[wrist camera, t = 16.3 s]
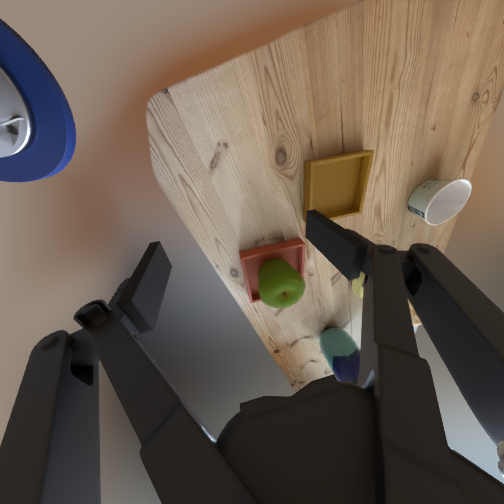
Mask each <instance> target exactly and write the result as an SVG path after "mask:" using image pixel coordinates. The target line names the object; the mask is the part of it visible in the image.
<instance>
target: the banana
mask: <svg viewBox="0 0 504 504" xmlns="http://www.w3.org/2000/svg"><path fill="white" fill-rule="evenodd" d="M364 277H365V274H364V273H363V272H362V271H361V273H360V277H359V278H357V279H353V281H352V290H353V292H354V294H356V295H357V296H359V297H360V298H362V299H363V289H364V287H362V284H363V280H364Z"/></svg>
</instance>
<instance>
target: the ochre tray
mask: <svg viewBox="0 0 504 504" xmlns="http://www.w3.org/2000/svg"><path fill="white" fill-rule="evenodd" d="M373 153H374V150H360V151H355V152H350V153H345V154H339V155H334V156H329V157H323V158H318V159H313V160H308V161H304V221H305V222H306V213H307V211H308V210H312V209H315V210H317V211H318V212H320V213H321V214H323V215H324V216H326V217H327V218H329V219H330V220H334V219H339V218H343V217H348V216H352V215H357V214H361V213H362V208H363V203H364V198H365V193H366V188H367V183H368V178H369V173H370V168H371V163H372V158H373Z"/></svg>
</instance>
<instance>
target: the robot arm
mask: <svg viewBox="0 0 504 504" xmlns="http://www.w3.org/2000/svg"><path fill="white" fill-rule="evenodd" d="M35 133H36V123H35V117H34V113H33V110H32V107H31V105H30V103H29V101H28V99H27V97H26V95H25V93H24V91H23V90H22V88H21V87H20V85H19V84H18V82H17V81H16V79H15V78H14V77H13V76H12V74H11V73H10V72H9V71H8V70H7V68H6V67H5V66H4V65H3V64H2V63H1V62H0V158H2V157H12V156H16V155H19V154H21V153H23V152H25V151H26V150H27V149H28V148H29V147H30V146H31V144H32V143H33V141H34V138H35ZM305 237H306V238H307V239H308V240H309V241H310V242H311V243H312V244H313V245H314V246H315V247H316V248H317V249H318V250H319V251H320V252H321V253H322V254H323V255H324V256H325V257H326V258H327V259H328V260H329V261H330V262H331V263H332V264H333V265H334V266H335V267H336V268H337V269H338V270H339V271H340V272H341V273H342V274H343V275H344V276H345V277H346V278H347V279H348V280H353V279H357V278H359V277H360V273H361V271H362V272H363V273H364V274H365V277H364V280H363V284H362V287H364V289H363V309H362V330H361V350H360V370H359V377H358V382H357V385H354V384H351V383H348V382H342V381H337V379H336V377H335V375H334V374H333V375H330V376H327V377H324V378H321V379H317V380H314V381H312V382H310V383H309V384H307V385H306V386H305V387H303V388H302V389H301V390H299V391H298V392H297V393H295V394H294V395H292V396H290V397H281V396H263V397H260V398H257V399H253V400H250V401H247V402H244V403H240V410H241V411H240V412H239V413H237V414H236V415H235V416H234V417H233V418H232V419H231V420H230V421H229V422H228V423H227V424H226V426H225V427H224V429H223V430H222V432H221V433H220V435H219V437H218V439H217V440H216V438H215V437H214V436H213V435H212V433H211V432H210V431H209V430H208V429H207V427H206V426H205V425H204V424H203V423H202V421H201V420H200V419H199V417H198V416H197V415H196V414H195V412H194V411H193V410H192V409H191V407H190V406H189V405H188V403H187V402H186V401H185V399H184V398H183V397H182V396H181V394H180V393H179V392H178V390H177V389H176V388H175V387H174V385H173V384H172V383H171V382H170V380H169V379H168V378H167V376H166V375H165V374H164V372H163V371H162V370H161V369H160V367H159V366H158V365H157V363H156V362H155V361H154V360H153V358H152V357H151V356H150V354H149V353H148V352H147V351H146V349H145V348H144V347H143V345H142V344H141V343H140V342H139V340H138V339H137V338H136V336H135V335H134V332H135V330H136V329H137V330H138V331H139V332H140V333H141V334H142V333H146V332H150V331H153V330H154V328H155V324H156V321H157V317H158V314H159V310H160V307H161V303H162V300H163V296H164V293H165V289H166V286H167V282H168V279H169V275H170V271H171V268H172V266H171V264H170V262H169V259H168V257H167V255H166V253H165V251H164V249H163V247H162V245H161V243H160V241H158V242H153V243H150V244H149V246H148V248H147V250H146V251H145V253H144V255H143V257H142V259H141V260H140V262H139V264H138V266H137V268H136V269H135V271H134V273H133V275H132V276H131V278H127V279H125V280H124V281H123V282H122V283H121V284H120V286H119V287H118V289H117V291H116V292H115V294H114V296H113V297H112V299H111V300H110V302H109V304H108V305H107V303H106V302H105V301H104V300H95V301H92V302H90V303H88V304H86V305H84V306H83V307H81V308H80V309H79V310H78V311H77V312H76V314H75V315H74V320H75V321H76V322H77V323H79V324H80V325H81V326H82V327H83V329H81V330H78V331H76V332H74V333H72V334H69V333H68V332H66V331H64V330H60V331H56V332H54V333H51V334H50V335H48V336H46V337H44V338H43V339H42V340H41V341H39V343H37V345H36V346H35V347H34V348H33V350H32V352H31V354H30V357H29V361H28V363H27V366H26V370H25V373H24V376H23V379H22V382H21V385H20V388H19V391H18V394H17V397H16V400H15V403H14V407H13V409H12V413H11V416H10V419H9V422H8V424H7V428H6V431H5V434H4V437H3V440H2V443H1V446H0V504H101V494H100V433H99V432H100V431H99V371H98V362H99V361H101V363H102V365H103V367H104V369H105V371H106V373H107V375H108V377H109V379H110V381H111V383H112V385H113V387H114V389H115V391H116V393H117V396H118V398H119V399H120V402H121V404H122V406H123V408H124V409H125V412H126V414H127V416H128V418H129V420H130V422H131V424H132V426H133V428H134V430H135V432H136V434H137V436H138V438H139V440H140V443H141V449H140V456H141V459H142V462H143V464H144V466H145V469H146V471H147V473H148V475H149V477H150V479H151V481H152V484H153V486H154V488H155V490H156V492H157V494H158V496H159V499H160V501H161V503H162V504H504V484H503V483H501V482H500V481H499V480H497V479H496V478H494V477H493V476H491V475H490V474H488V473H487V472H485V471H484V470H482V469H481V468H479V467H478V466H477V465H475V464H474V463H472V462H471V461H469V460H468V459H466V458H465V457H464V456H462V455H461V454H459V453H458V452H456V451H455V450H453V449H452V448H450V447H449V446H448V444H447V440H446V436H445V431H444V427H443V422H442V418H441V414H440V410H439V405H438V401H437V396H436V392H435V387H434V383H433V379H432V374H431V370H430V367H429V364H428V362H427V361H426V360H425V359H423V358H420V356H419V354H418V349H417V344H416V339H415V334H414V328H413V323H412V318H411V313H410V308H409V303H408V300H409V302H410V303H411V305H412V307H413V309H414V310H415V312H416V314H417V316H418V317H419V319H420V321H421V323H422V324H423V326H424V328H425V330H426V332H427V333H428V335H429V337H430V338H431V340H432V342H433V344H434V345H435V347H436V349H437V351H438V353H439V354H440V356H441V358H442V360H443V361H444V363H445V365H446V367H447V368H448V370H449V372H450V374H451V375H452V377H453V379H454V381H455V382H456V384H457V386H458V387H459V389H460V391H461V393H462V395H463V396H464V398H465V400H466V402H467V404H468V405H469V407H470V408H471V410H472V412H473V413H474V415H475V416H476V418H477V420H478V421H479V423H480V424H481V425H482V427H483V428H484V430H485V431H486V433H487V434H488V435H489V436H490V438H491V439H492V441H493V442H494V443H495V444H496V446H497V453H498V456H499V458H500V461H499V462H498V468H499V470H500V472H501V474H502V475H503V477H504V313H503V312H502V311H501V310H500V309H499V308H498V307H497V306H496V305H495V304H494V303H493V302H492V301H491V300H490V299H489V298H488V297H487V296H486V295H485V294H484V293H483V292H482V291H481V290H480V289H478V288H477V287H476V286H475V285H474V284H473V283H472V282H471V281H470V280H469V279H468V278H467V277H466V276H465V275H464V274H463V273H462V272H461V271H460V270H459V269H458V268H457V267H456V266H455V265H454V264H453V263H452V262H451V261H449V260H448V259H447V258H446V257H445V256H444V255H443V254H442V253H441V252H440V251H439V250H438V249H437V248H435V247H433V246H431V245H428V244H421V243H416V244H412V245H411V246H410V248H409V251H398V250H397V249H395V248H394V247H391V246H388V245H376V244H374V243H373V242H371V241H369V240H368V239H366V238H365V237H364V238H363V236H361V235H359V234H358V233H357V232H355V231H353V230H350V229H344V228H343V227H341V226H340V225H338V224H337V223H335V222H333V221H332V220H330V219H329V218H327V217H326V216H324V215H323V214H321V213H320V212H318V211H317V210H315V209H312V210H308V211H307V213H306V235H305Z"/></svg>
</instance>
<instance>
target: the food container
mask: <svg viewBox="0 0 504 504" xmlns="http://www.w3.org/2000/svg"><path fill="white" fill-rule="evenodd" d="M471 189H472V186H471V182H470V181H469V180H468V179H465V178H460V179H456V180H429V181H426V182H424V183H422V184H421V185H419V186H418V187H417V188H416V189H415V190H414V192H413V193H412V194H411V196H410V198H409V201H408V209H409V211H411V212H412V213H414V214H416V215H417V216H419V217H421V218H422V219H424V220H425V221H426V222H427V223H428V224H430V225H438V224H442V223H444V222H446V221H448V220H449V219H451V218H452V217H453V216H455V215H456V214H457V213H458V212H459V211H460V210H461V209H462V208H463V206H464V205H465V204H466V202H467V200H468V198H469V196H470V194H471Z"/></svg>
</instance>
